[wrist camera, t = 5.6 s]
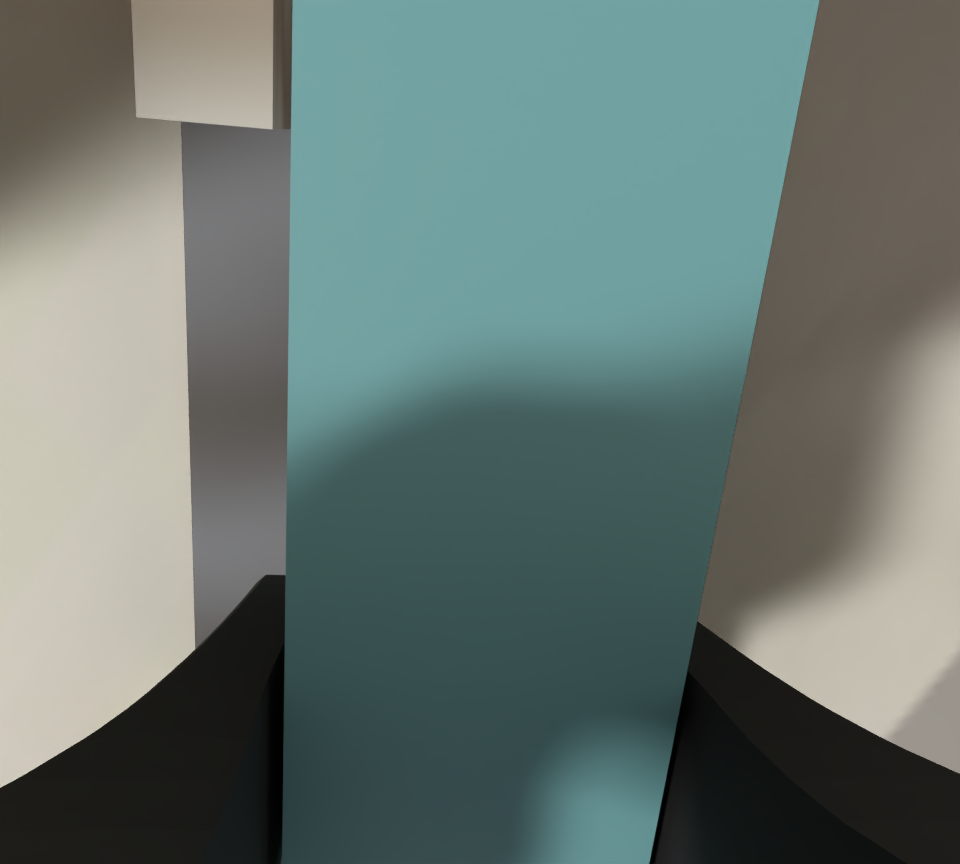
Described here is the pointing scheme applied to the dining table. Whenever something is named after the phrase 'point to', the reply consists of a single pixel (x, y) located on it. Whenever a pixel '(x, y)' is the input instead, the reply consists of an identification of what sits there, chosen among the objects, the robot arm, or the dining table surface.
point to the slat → (513, 406)
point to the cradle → (230, 272)
